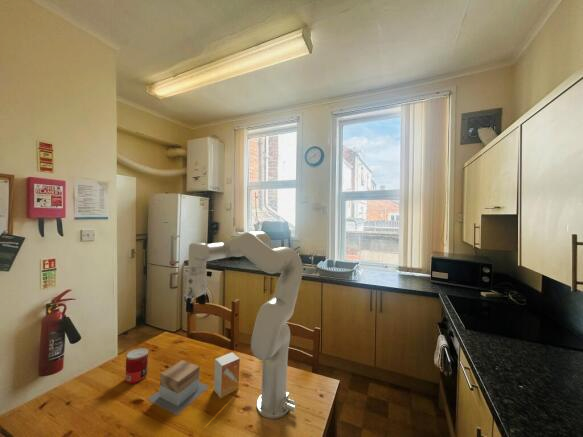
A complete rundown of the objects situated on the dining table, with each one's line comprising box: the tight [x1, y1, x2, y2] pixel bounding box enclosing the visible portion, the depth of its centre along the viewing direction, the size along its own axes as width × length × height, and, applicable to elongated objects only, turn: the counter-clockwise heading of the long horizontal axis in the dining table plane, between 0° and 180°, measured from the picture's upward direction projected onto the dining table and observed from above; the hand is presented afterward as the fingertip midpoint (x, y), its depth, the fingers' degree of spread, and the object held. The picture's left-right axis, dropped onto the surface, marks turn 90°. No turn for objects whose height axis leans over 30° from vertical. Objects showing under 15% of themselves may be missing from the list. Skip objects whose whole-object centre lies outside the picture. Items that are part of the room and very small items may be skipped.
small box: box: [213, 351, 241, 399], centre depth 96 cm, size 8×6×13 cm
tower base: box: [159, 377, 200, 406], centre depth 93 cm, size 10×10×4 cm
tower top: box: [159, 359, 200, 394], centre depth 93 cm, size 10×10×4 cm
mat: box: [146, 381, 210, 416], centre depth 93 cm, size 16×16×1 cm
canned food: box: [124, 347, 149, 385], centre depth 101 cm, size 8×8×11 cm
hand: (196, 307), depth 106 cm, fingers open, 9 cm apart
